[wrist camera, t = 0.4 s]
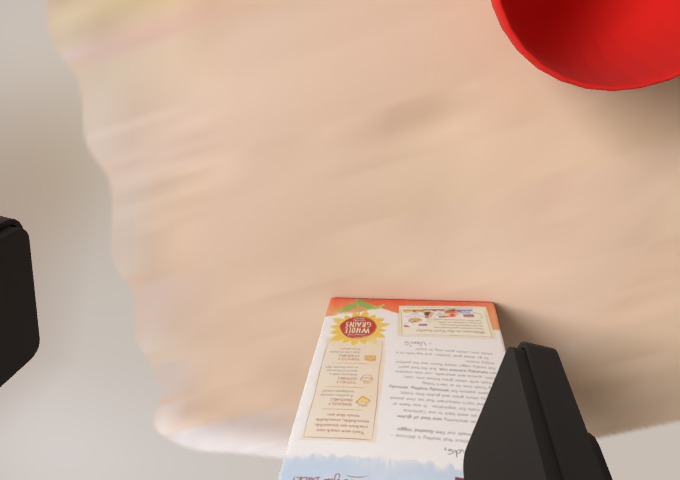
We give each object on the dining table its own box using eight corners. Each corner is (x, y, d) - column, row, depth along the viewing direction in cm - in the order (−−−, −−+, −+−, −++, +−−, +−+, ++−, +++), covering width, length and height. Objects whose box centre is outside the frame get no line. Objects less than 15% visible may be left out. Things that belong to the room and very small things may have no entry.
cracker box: (334, 350, 47) (273, 581, 28) (330, 293, 44) (261, 508, 26) (490, 358, 45) (537, 616, 26) (496, 300, 42) (552, 538, 24)
